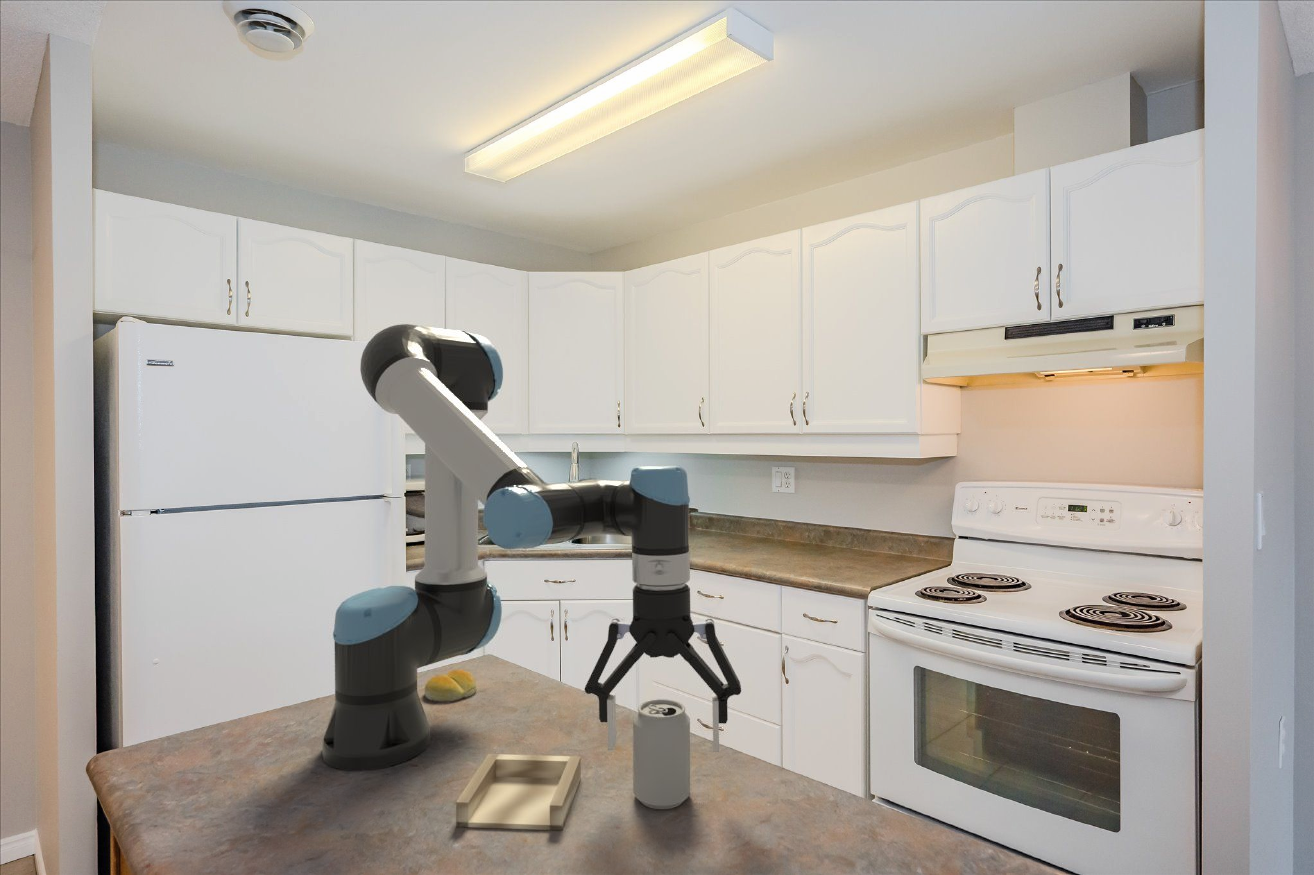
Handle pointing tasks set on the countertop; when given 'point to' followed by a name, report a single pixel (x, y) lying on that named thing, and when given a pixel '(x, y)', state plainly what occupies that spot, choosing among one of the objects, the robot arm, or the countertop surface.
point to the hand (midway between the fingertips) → (663, 746)
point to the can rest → (520, 792)
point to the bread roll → (450, 686)
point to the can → (661, 754)
